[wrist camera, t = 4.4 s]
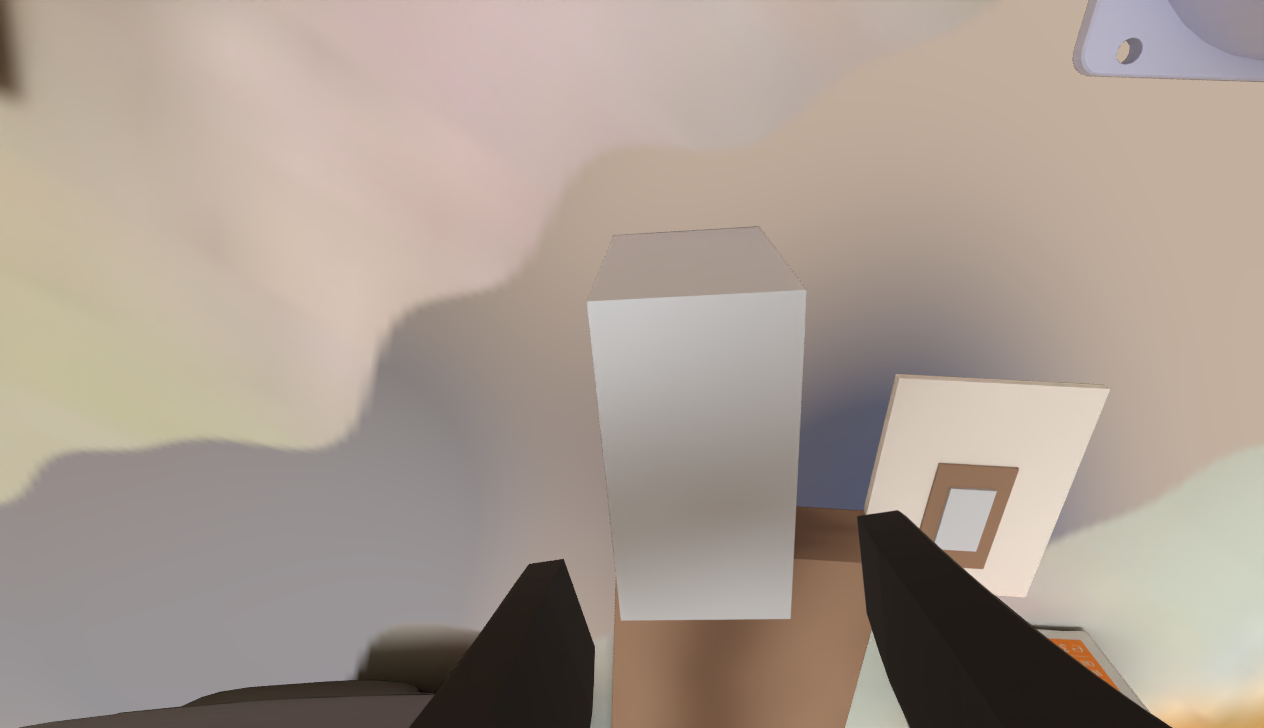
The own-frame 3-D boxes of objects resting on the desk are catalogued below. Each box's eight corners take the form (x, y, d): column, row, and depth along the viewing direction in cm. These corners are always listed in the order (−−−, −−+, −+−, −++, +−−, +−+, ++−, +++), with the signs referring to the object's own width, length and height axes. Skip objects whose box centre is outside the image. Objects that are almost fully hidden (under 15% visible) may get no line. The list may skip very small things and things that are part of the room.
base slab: (863, 510, 19) (889, 564, 17) (800, 775, 25) (813, 842, 23) (622, 496, 20) (616, 547, 17) (613, 761, 25) (608, 826, 23)
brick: (759, 226, 16) (806, 290, 11) (755, 472, 19) (790, 619, 14) (613, 234, 16) (586, 301, 11) (633, 475, 20) (620, 620, 14)
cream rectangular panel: (1103, 384, 17) (1115, 392, 17) (1020, 590, 20) (1028, 601, 20) (895, 374, 17) (901, 381, 17) (846, 579, 21) (850, 590, 20)
